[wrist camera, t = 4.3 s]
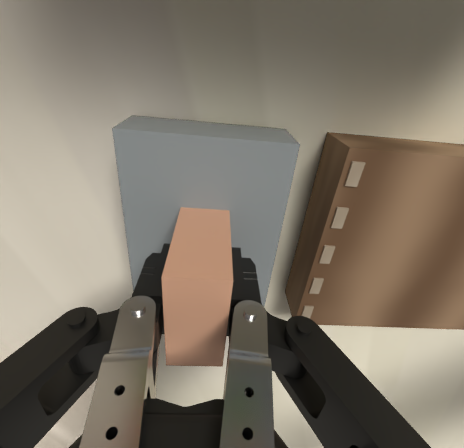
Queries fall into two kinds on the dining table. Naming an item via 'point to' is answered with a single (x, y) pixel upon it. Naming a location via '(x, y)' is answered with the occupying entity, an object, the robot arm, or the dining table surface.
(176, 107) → the dining table surface
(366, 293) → the board
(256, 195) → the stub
